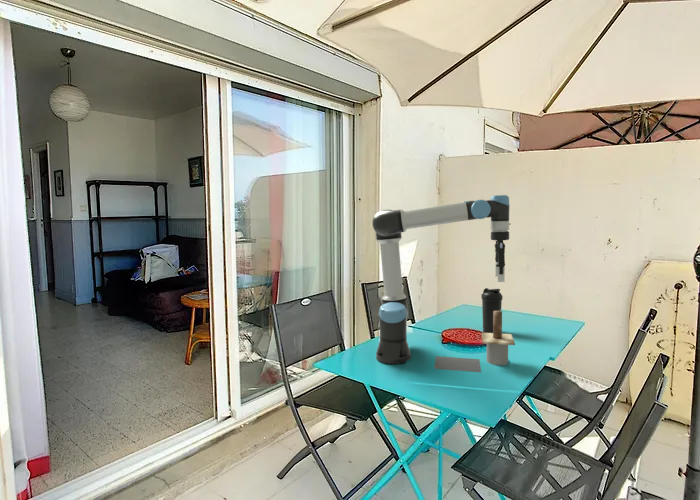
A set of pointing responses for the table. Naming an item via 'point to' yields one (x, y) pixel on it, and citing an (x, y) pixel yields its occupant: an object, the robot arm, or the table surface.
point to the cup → (497, 354)
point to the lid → (497, 332)
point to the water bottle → (490, 307)
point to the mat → (457, 364)
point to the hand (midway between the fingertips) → (499, 279)
